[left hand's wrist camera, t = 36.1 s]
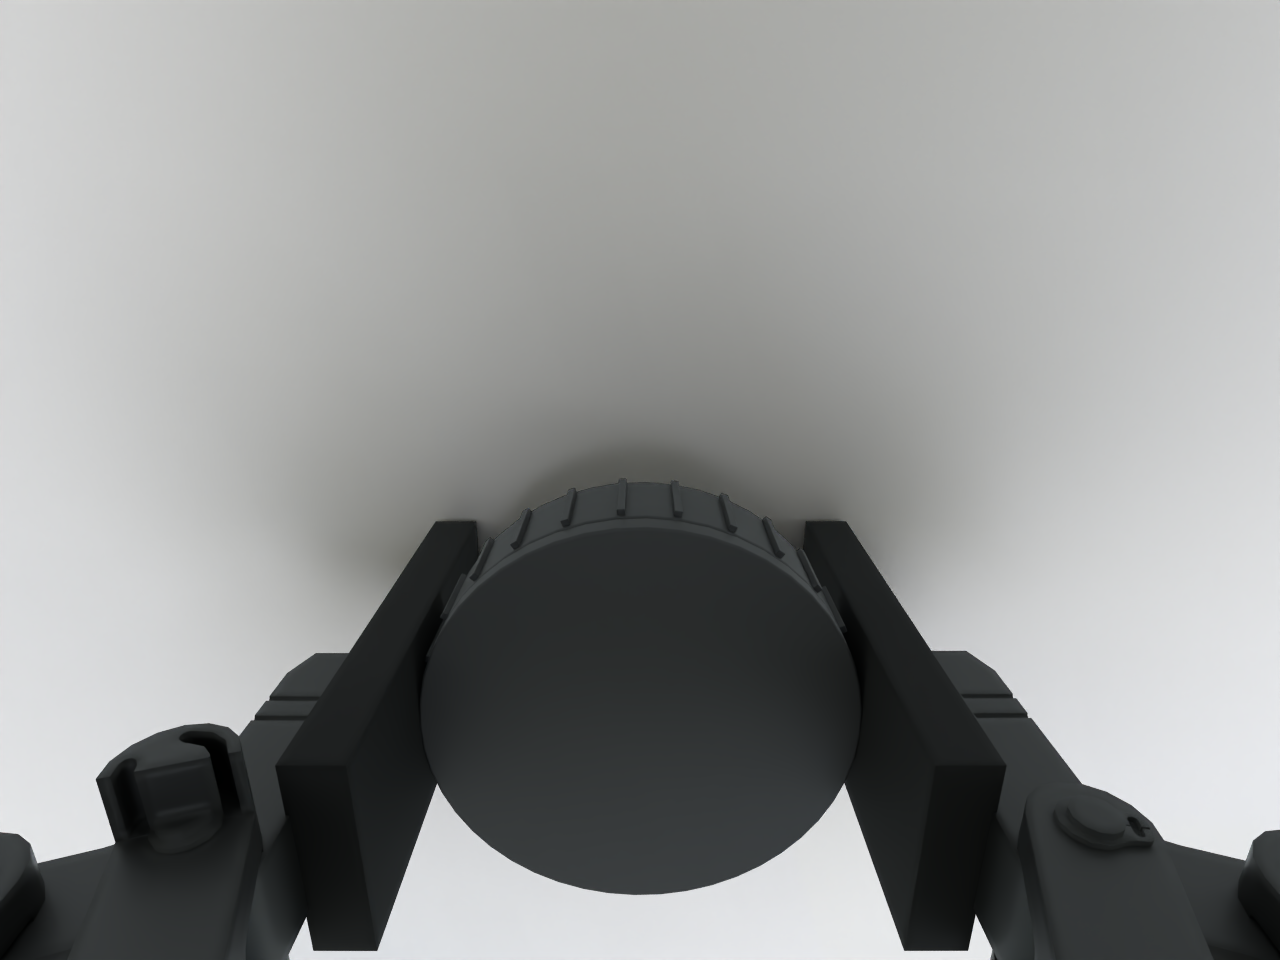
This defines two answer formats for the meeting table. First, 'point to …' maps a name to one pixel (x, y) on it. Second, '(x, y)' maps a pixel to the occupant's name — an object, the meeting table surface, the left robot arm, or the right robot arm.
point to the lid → (640, 691)
